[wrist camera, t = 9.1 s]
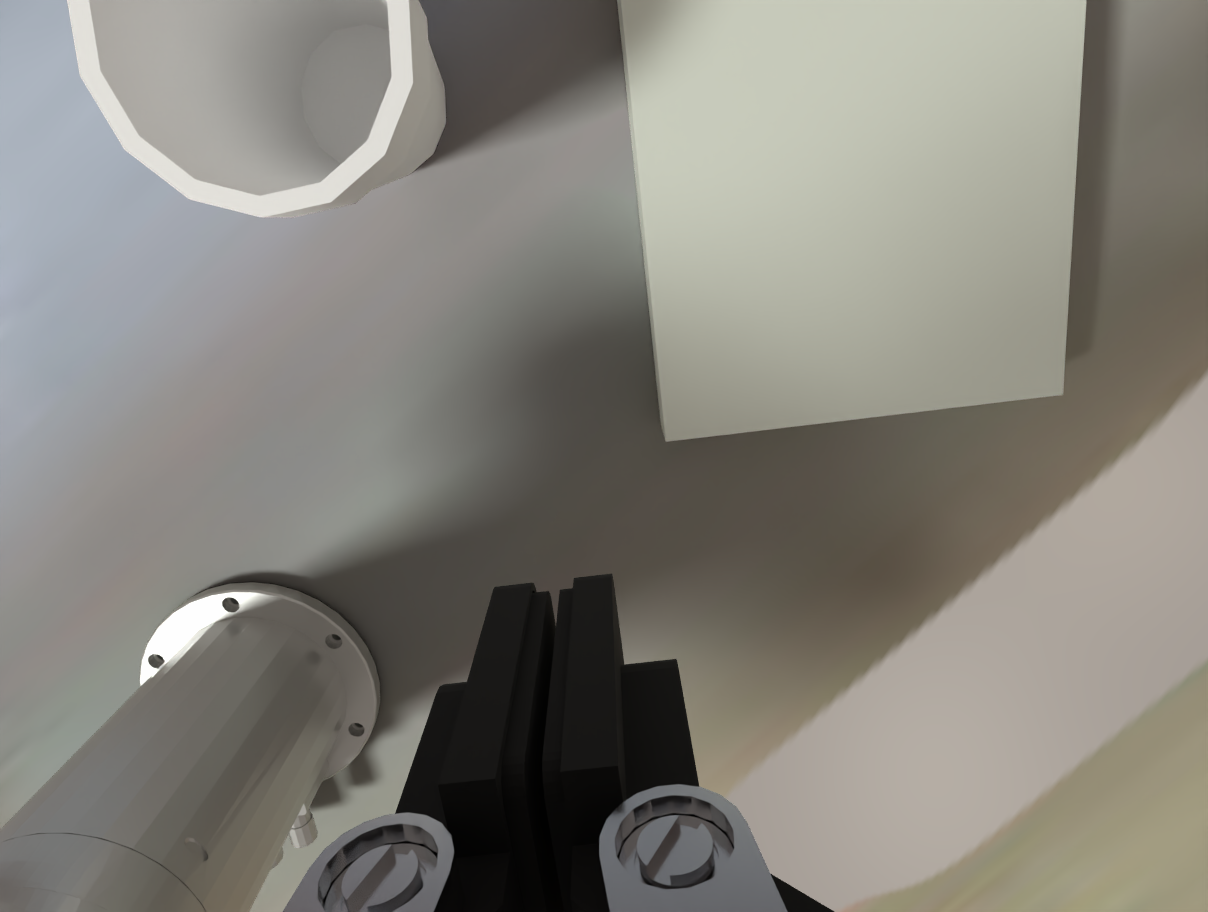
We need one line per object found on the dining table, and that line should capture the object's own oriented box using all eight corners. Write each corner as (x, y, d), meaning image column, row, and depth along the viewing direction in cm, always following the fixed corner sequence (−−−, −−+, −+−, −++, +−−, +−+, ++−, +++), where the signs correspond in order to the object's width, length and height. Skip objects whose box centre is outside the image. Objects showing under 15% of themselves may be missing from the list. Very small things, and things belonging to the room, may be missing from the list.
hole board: (1027, 381, 37) (1062, 395, 34) (660, 424, 38) (665, 441, 35) (1062, -407, 28) (1114, -477, 25) (582, -335, 29) (580, -396, 26)
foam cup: (312, -64, 31) (126, -246, 19) (516, 49, 33) (466, -53, 20) (238, 156, 34) (31, 121, 22) (430, 253, 35) (338, 272, 23)
